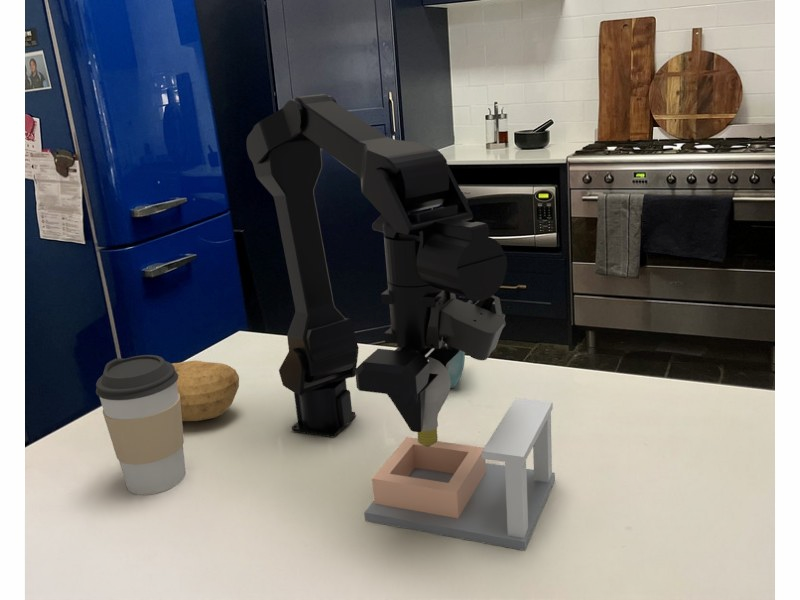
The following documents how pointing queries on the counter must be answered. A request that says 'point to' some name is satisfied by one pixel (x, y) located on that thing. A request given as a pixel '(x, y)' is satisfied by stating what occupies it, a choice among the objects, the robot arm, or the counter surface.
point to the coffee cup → (144, 421)
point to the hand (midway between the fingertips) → (425, 420)
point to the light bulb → (434, 402)
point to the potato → (205, 389)
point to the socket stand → (471, 482)
